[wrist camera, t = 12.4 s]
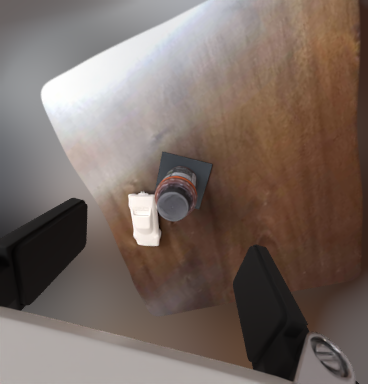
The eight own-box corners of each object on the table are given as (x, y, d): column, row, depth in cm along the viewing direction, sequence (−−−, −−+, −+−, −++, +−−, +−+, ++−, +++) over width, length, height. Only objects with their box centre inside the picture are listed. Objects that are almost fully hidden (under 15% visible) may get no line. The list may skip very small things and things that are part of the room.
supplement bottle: (187, 201, 33) (181, 236, 22) (160, 187, 32) (140, 215, 22) (203, 175, 31) (205, 200, 20) (174, 159, 30) (160, 175, 20)
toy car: (138, 240, 37) (131, 251, 34) (131, 188, 33) (123, 195, 30) (162, 242, 37) (158, 253, 34) (158, 189, 32) (153, 196, 29)
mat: (154, 197, 33) (153, 197, 33) (162, 151, 30) (162, 151, 30) (199, 208, 33) (199, 209, 33) (212, 164, 30) (212, 164, 30)
